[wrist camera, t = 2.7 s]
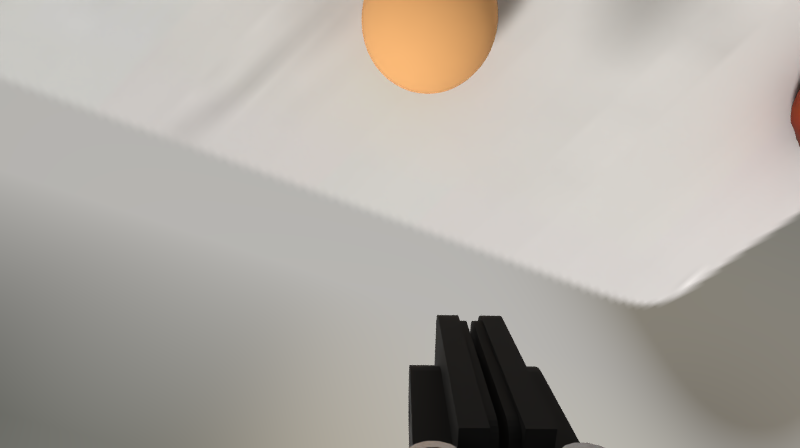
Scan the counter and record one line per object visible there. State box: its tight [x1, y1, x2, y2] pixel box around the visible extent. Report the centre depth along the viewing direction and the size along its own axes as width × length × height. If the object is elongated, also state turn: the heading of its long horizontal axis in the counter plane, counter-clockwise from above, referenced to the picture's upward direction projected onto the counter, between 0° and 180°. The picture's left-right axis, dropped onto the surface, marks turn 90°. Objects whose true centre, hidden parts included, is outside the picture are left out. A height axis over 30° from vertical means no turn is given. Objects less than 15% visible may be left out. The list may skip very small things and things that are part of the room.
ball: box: [362, 0, 498, 94], centre depth 18 cm, size 6×6×6 cm
